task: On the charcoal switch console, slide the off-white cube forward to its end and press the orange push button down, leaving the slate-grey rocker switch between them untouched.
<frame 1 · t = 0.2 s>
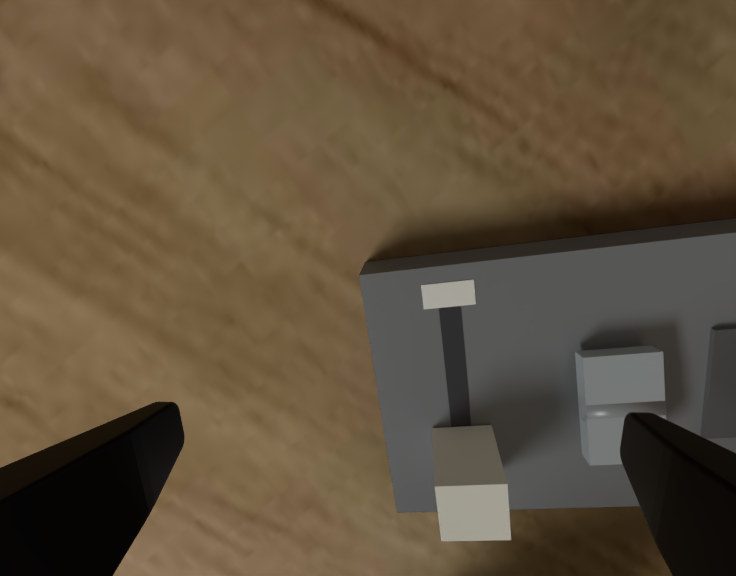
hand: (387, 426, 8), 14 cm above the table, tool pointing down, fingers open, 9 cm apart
switch console: (587, 364, 22), on the table
off-white cube: (468, 479, 20), point 5 cm above the table, slide at 0.0 cm
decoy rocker: (620, 405, 19), point 4 cm above the table, hinge at 10.0°
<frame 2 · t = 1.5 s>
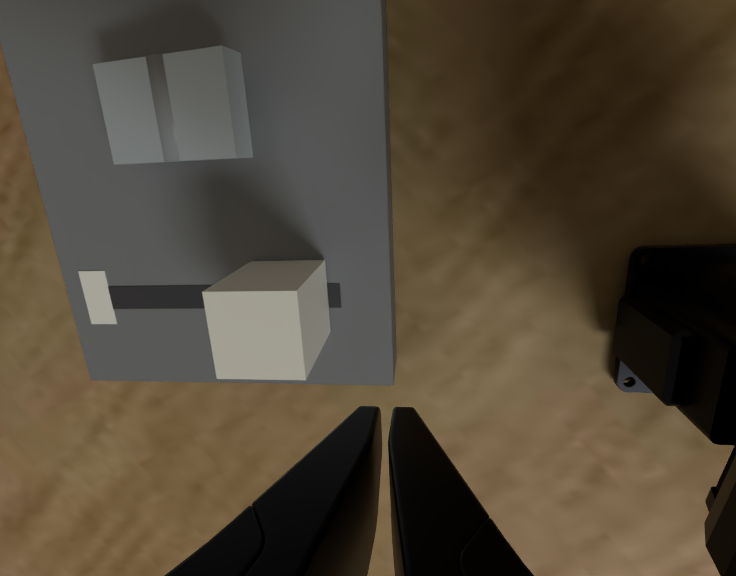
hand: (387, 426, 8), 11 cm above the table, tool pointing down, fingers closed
switch console: (223, 120, 18), on the table
off-white cube: (275, 314, 15), point 5 cm above the table, slide at 0.0 cm
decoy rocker: (174, 111, 14), point 4 cm above the table, hinge at 10.0°
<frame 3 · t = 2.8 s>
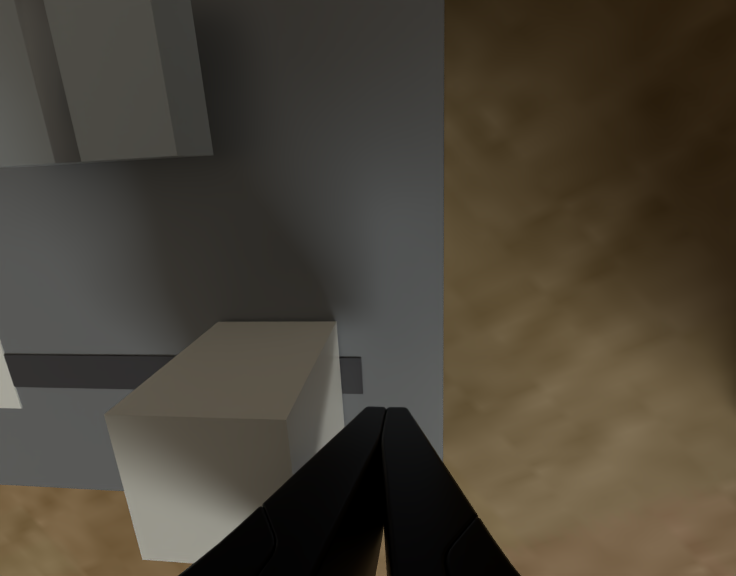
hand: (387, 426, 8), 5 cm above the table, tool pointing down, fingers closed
switch console: (180, 99, 12), on the table
off-white cube: (253, 423, 9), point 5 cm above the table, slide at 0.0 cm, touching gripper
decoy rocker: (71, 73, 8), point 4 cm above the table, hinge at 10.0°
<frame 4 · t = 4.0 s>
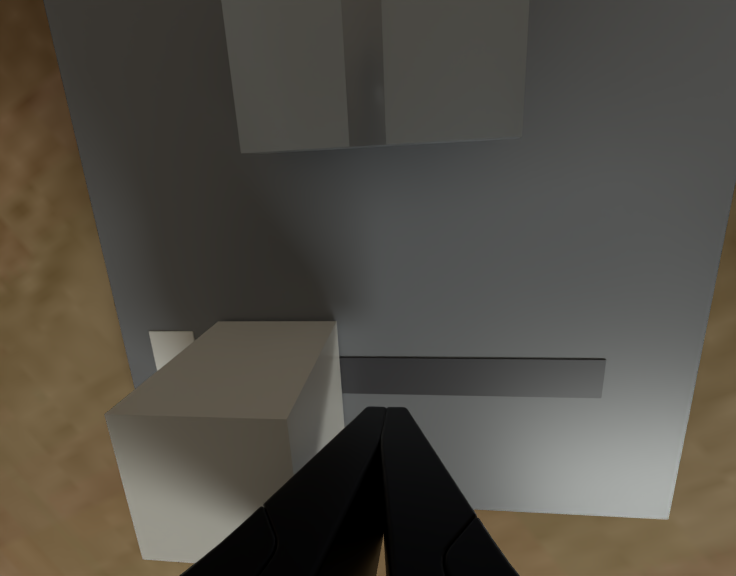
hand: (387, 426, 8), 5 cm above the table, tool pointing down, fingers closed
switch console: (387, 84, 11), on the table
off-white cube: (253, 423, 9), point 5 cm above the table, slide at 5.7 cm, touching gripper
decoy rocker: (371, 47, 7), point 4 cm above the table, hinge at 10.0°
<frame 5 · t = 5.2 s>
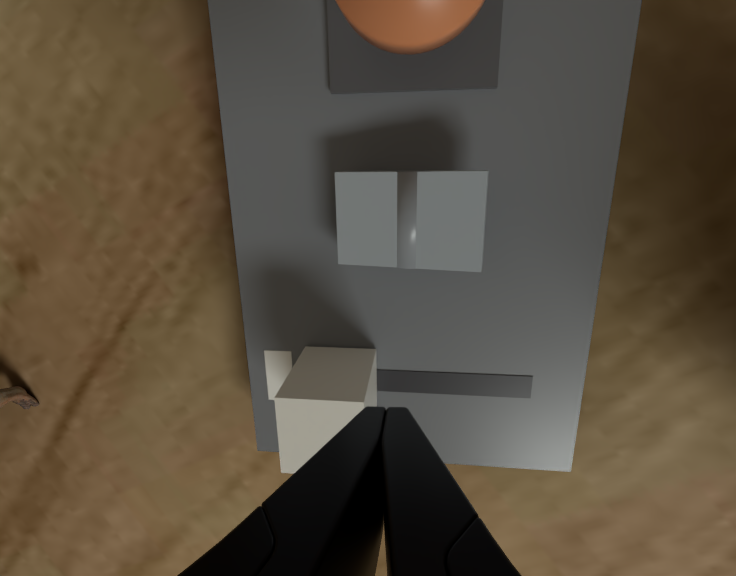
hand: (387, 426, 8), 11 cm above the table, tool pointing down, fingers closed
switch console: (411, 207, 18), on the table
off-white cube: (332, 405, 16), point 5 cm above the table, slide at 5.8 cm
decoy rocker: (409, 219, 15), point 4 cm above the table, hinge at 10.0°
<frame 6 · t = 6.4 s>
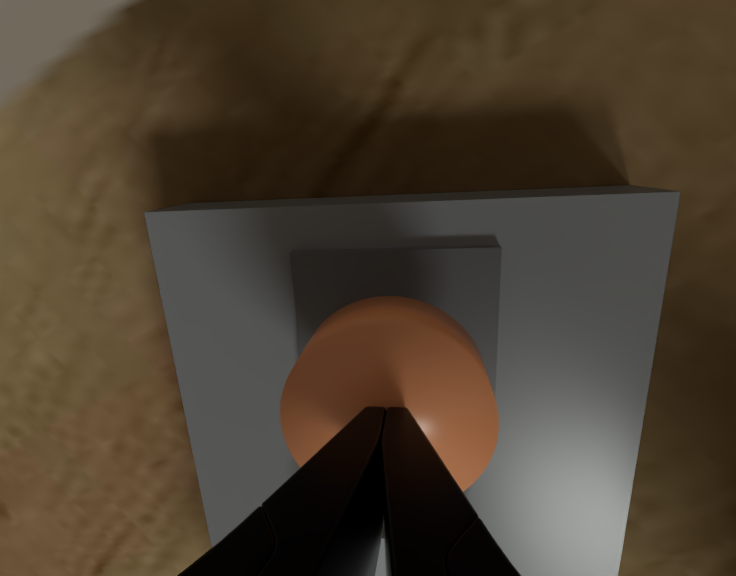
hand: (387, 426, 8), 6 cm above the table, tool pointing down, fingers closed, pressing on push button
switch console: (404, 479, 17), on the table
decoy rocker: (400, 568, 13), point 4 cm above the table, hinge at 10.0°
push button: (390, 390, 10), point 5 cm above the table, slide at 0.3 cm, touching gripper
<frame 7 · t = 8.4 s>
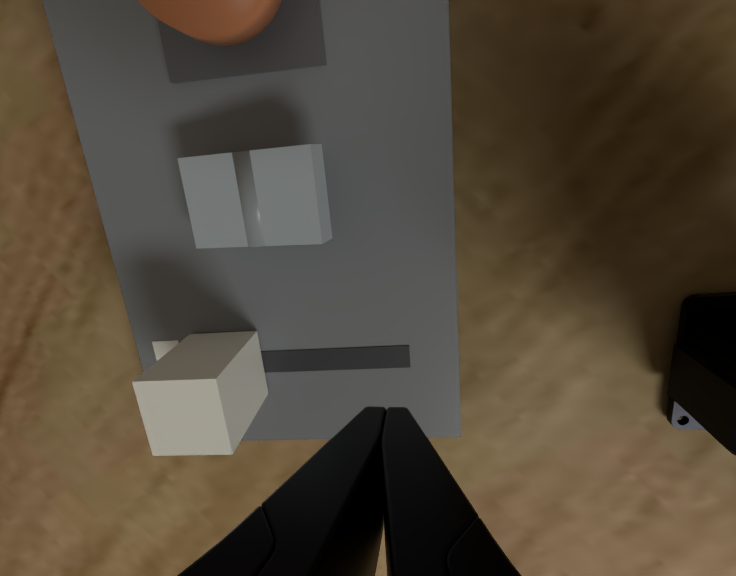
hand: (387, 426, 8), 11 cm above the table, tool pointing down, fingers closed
switch console: (285, 190, 18), on the table
off-white cube: (209, 388, 16), point 5 cm above the table, slide at 5.8 cm
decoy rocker: (256, 198, 15), point 4 cm above the table, hinge at 10.0°
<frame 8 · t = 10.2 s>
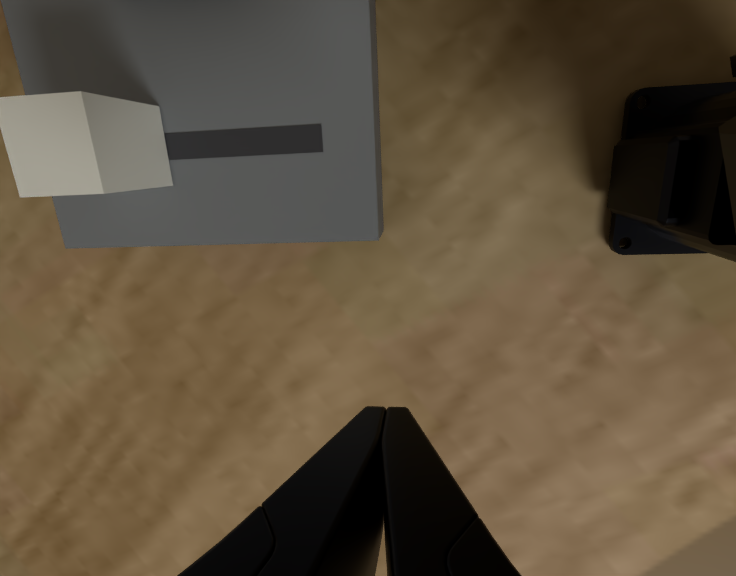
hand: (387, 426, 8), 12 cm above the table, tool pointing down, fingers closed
off-white cube: (95, 148, 15), point 5 cm above the table, slide at 5.8 cm
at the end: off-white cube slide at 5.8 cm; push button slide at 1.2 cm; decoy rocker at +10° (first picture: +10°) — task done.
